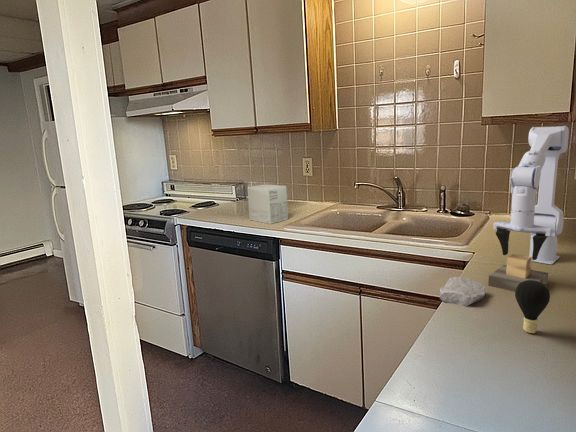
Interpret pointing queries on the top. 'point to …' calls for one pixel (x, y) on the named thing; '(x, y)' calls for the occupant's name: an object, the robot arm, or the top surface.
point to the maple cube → (519, 266)
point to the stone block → (462, 291)
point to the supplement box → (268, 203)
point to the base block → (513, 279)
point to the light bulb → (532, 302)
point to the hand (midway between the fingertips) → (519, 256)
